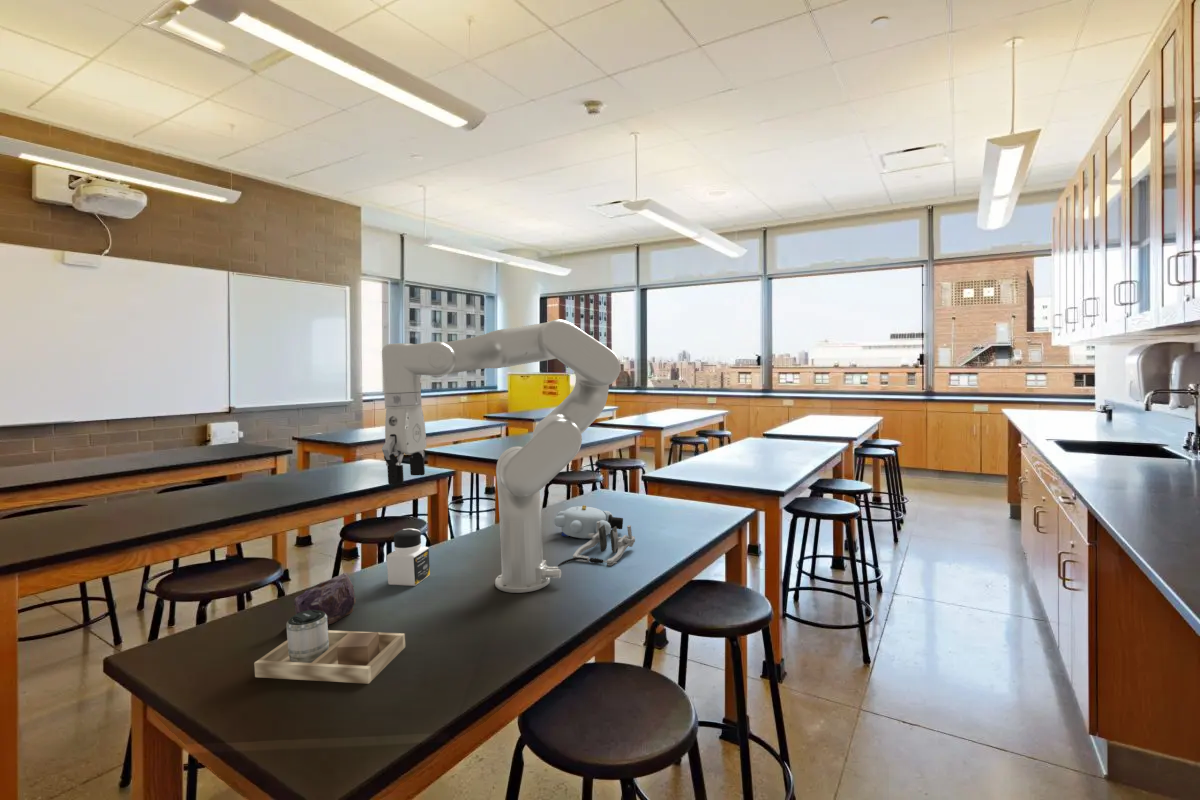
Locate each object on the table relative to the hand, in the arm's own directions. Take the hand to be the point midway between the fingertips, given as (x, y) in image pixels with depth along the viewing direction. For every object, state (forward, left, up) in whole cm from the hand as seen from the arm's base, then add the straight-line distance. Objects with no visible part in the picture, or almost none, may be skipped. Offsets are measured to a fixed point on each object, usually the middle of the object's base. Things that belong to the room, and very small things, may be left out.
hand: (407, 479), depth 126 cm
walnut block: (-5, +29, -26) cm, 39 cm away
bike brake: (-37, -29, -27) cm, 54 cm away
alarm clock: (-31, -50, -27) cm, 64 cm away
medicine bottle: (+6, -10, -26) cm, 29 cm away
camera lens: (+5, +29, -26) cm, 39 cm away
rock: (+11, +13, -27) cm, 32 cm away
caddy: (0, +29, -26) cm, 39 cm away
